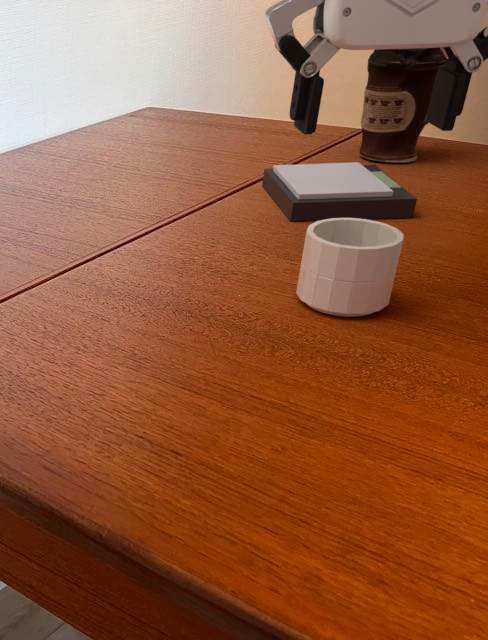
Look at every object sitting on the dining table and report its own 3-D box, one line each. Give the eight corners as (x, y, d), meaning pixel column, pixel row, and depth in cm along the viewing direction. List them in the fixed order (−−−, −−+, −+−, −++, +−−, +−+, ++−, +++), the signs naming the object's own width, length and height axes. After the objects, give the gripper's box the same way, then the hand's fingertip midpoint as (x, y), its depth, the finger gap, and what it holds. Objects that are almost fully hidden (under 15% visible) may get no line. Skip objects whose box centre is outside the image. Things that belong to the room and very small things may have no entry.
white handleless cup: (370, 283, 74) (384, 216, 71) (401, 319, 68) (418, 247, 65) (286, 285, 74) (296, 219, 71) (309, 321, 68) (322, 249, 65)
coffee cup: (399, 171, 99) (425, 52, 92) (334, 158, 105) (354, 45, 98) (439, 156, 103) (467, 40, 97) (374, 144, 109) (396, 34, 103)
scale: (371, 182, 97) (376, 159, 95) (412, 217, 86) (418, 192, 85) (261, 186, 98) (265, 163, 96) (290, 221, 88) (294, 196, 86)
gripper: (304, -140, 52) (263, 144, 61) (604, -155, 51) (518, 138, 60) (273, -137, 59) (240, 120, 68) (539, -151, 57) (470, 113, 66)
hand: (370, 128), depth 64 cm, fingers open, 9 cm apart
